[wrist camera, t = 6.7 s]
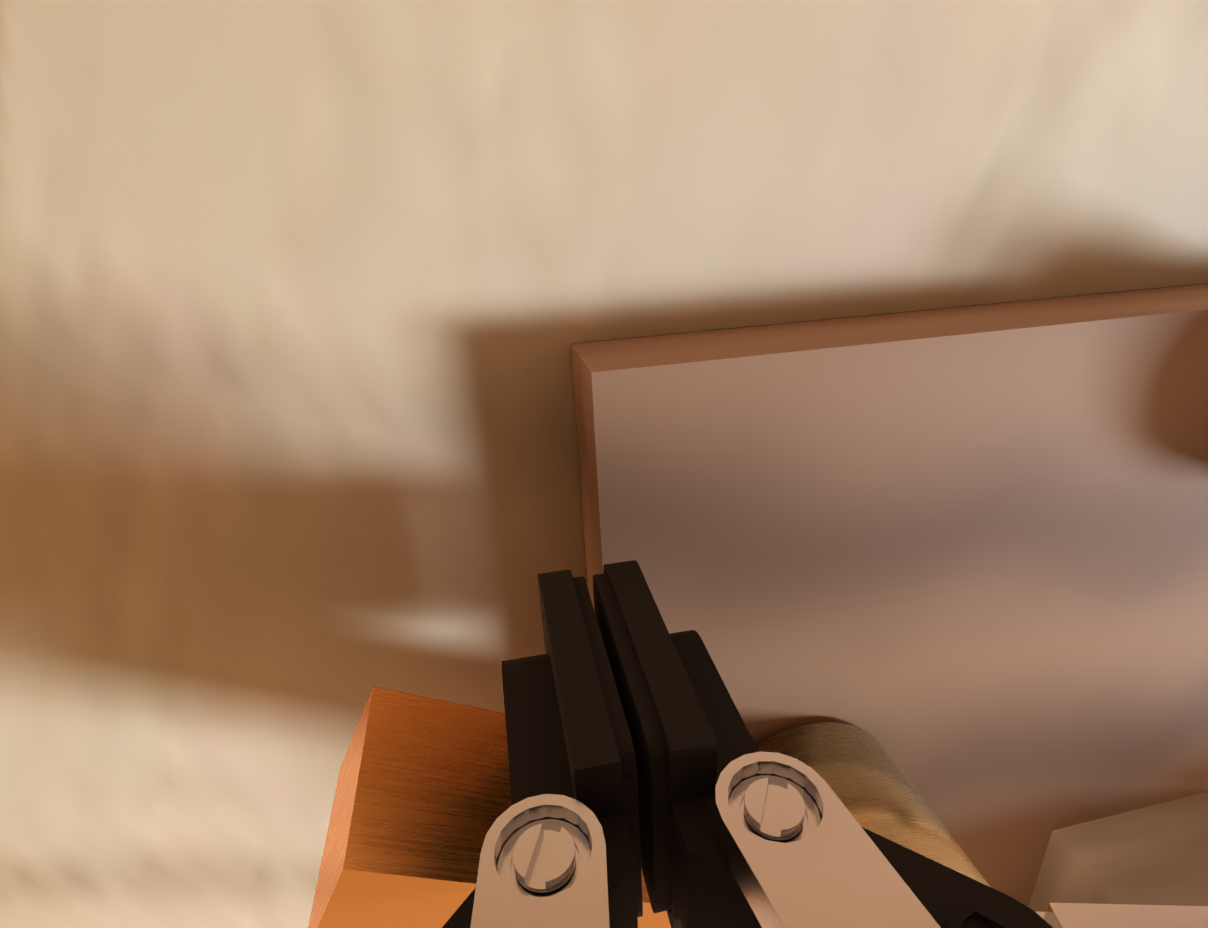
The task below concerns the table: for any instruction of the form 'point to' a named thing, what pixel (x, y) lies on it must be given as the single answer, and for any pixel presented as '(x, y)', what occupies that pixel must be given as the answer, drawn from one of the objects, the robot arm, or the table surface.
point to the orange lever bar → (482, 793)
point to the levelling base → (945, 558)
